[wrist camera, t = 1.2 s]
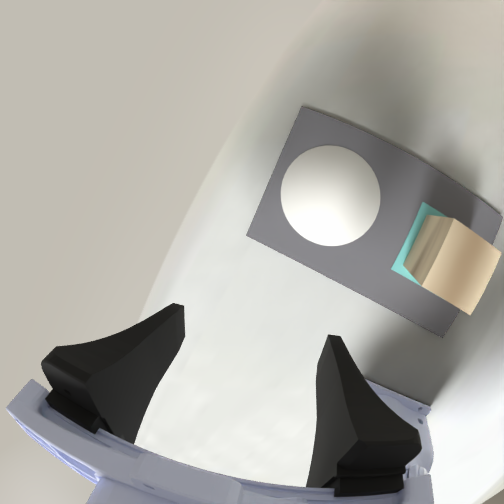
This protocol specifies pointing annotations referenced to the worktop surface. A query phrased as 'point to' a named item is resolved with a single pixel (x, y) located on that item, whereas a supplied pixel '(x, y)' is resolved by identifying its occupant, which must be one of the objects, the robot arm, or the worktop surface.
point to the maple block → (452, 261)
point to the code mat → (362, 213)
